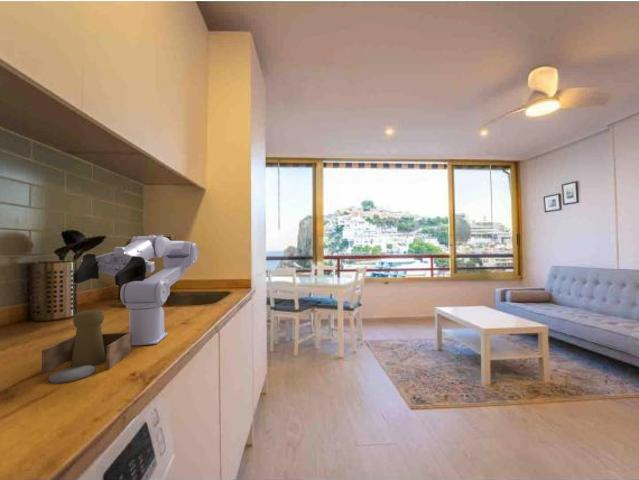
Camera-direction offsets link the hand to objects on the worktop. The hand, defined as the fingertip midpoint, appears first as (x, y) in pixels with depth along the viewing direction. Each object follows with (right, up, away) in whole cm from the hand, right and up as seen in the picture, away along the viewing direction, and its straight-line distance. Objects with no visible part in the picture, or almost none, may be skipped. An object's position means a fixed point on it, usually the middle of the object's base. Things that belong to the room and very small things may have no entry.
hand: (96, 279), depth 63 cm
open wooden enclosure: (-5, -18, +5) cm, 20 cm away
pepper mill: (-5, -18, +5) cm, 20 cm away
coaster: (-3, -18, -2) cm, 18 cm away
